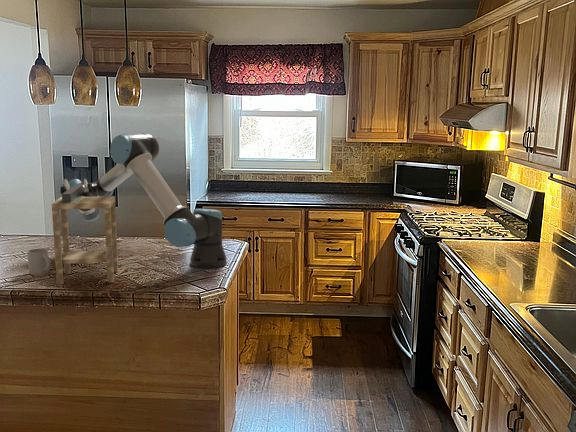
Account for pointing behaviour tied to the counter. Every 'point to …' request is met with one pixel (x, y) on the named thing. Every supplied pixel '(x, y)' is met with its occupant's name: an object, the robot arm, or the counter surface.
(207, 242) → the robot arm
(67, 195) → the grey square bar
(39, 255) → the cup
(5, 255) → the counter surface
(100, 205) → the stand
